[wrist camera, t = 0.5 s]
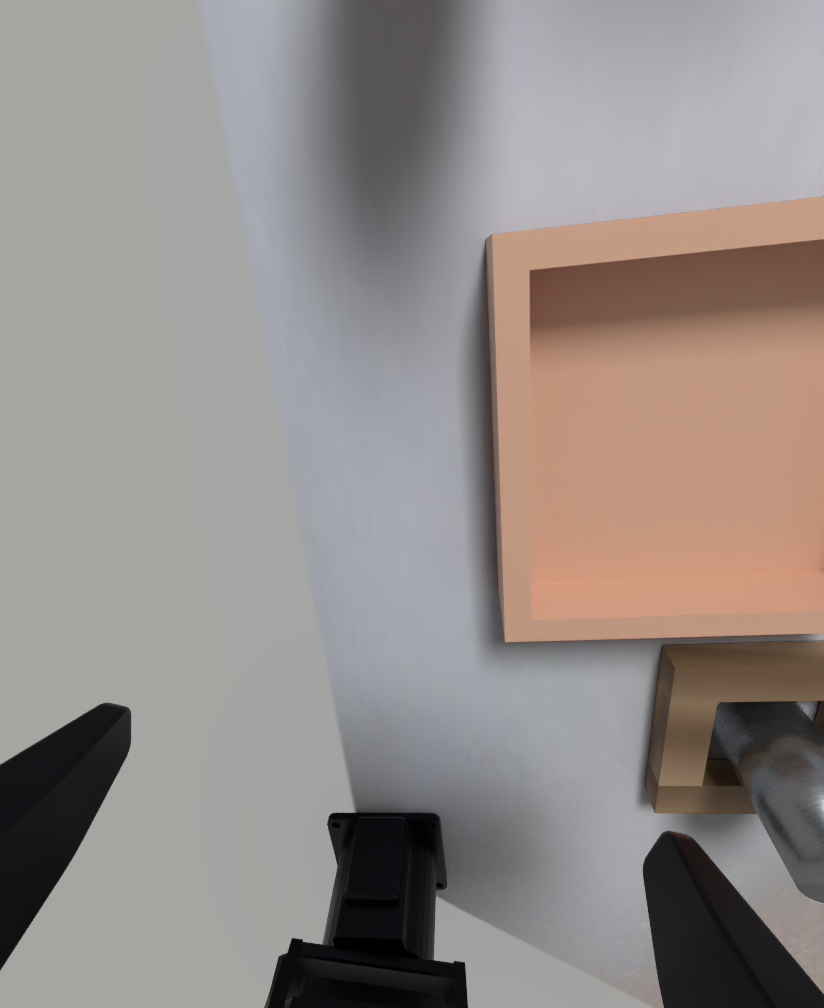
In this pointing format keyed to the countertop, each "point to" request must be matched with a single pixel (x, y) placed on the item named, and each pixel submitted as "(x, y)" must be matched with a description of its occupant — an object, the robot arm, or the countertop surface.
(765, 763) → the gunmetal pin
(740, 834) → the countertop surface
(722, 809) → the walnut collar
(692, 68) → the countertop surface
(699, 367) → the terracotta tray
